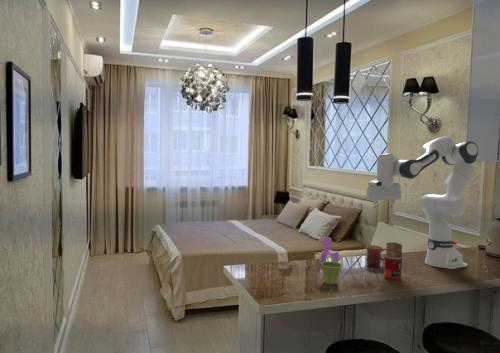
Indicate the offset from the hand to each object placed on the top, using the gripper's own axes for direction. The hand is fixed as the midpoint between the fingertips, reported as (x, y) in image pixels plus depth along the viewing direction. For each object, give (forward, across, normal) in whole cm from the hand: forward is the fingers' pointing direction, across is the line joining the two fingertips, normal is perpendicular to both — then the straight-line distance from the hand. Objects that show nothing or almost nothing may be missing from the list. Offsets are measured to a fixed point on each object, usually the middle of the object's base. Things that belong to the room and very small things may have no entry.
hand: (383, 207), depth 214 cm
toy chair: (+31, +30, -4) cm, 44 cm away
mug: (+31, +5, +3) cm, 32 cm away
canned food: (+31, +10, +23) cm, 40 cm away
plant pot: (+31, +44, +23) cm, 59 cm away
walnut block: (+20, +10, +23) cm, 32 cm away
